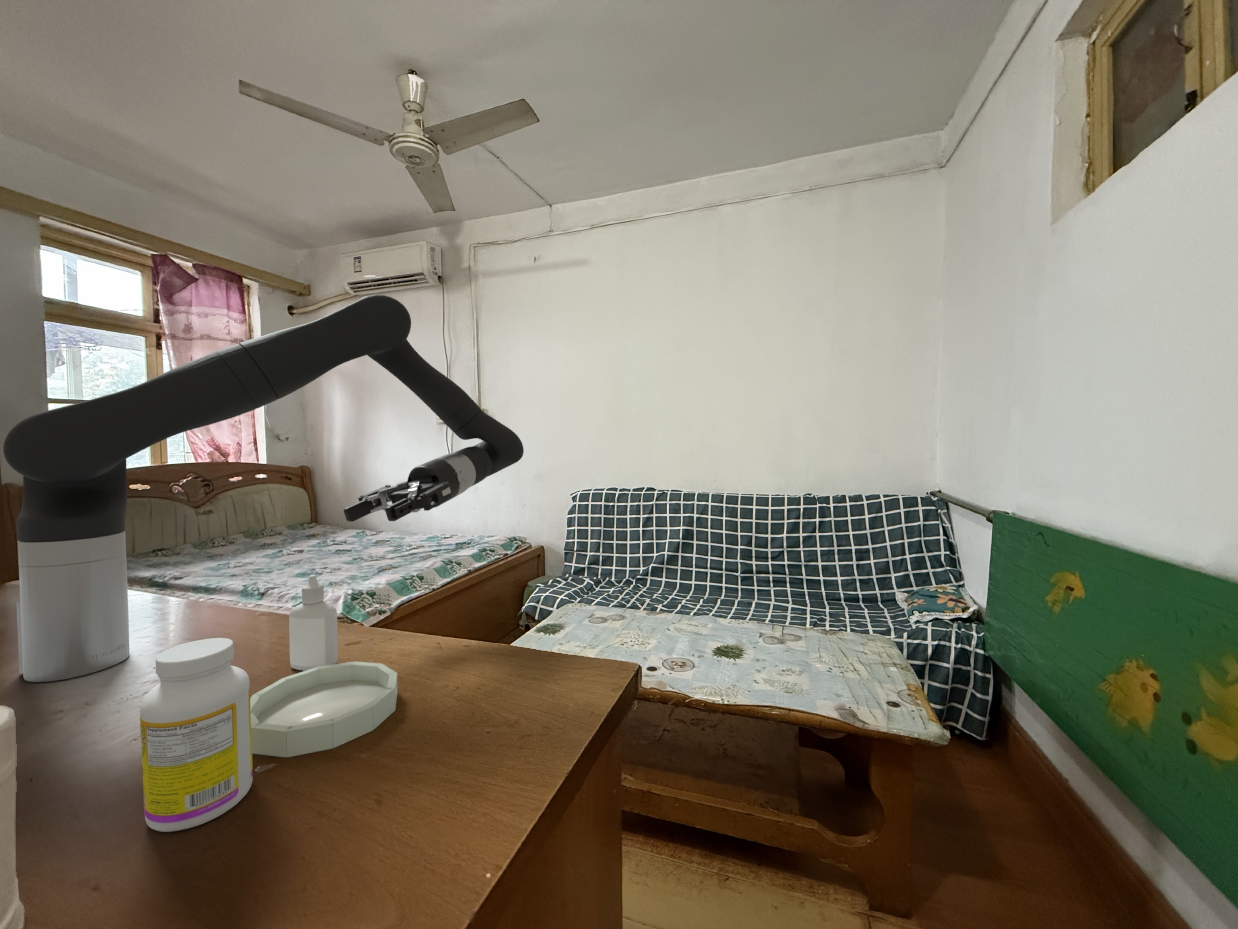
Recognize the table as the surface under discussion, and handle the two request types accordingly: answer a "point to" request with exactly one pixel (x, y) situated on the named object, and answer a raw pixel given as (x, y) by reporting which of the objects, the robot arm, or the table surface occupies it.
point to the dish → (321, 708)
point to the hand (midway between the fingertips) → (367, 515)
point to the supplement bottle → (195, 736)
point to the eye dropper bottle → (313, 629)
